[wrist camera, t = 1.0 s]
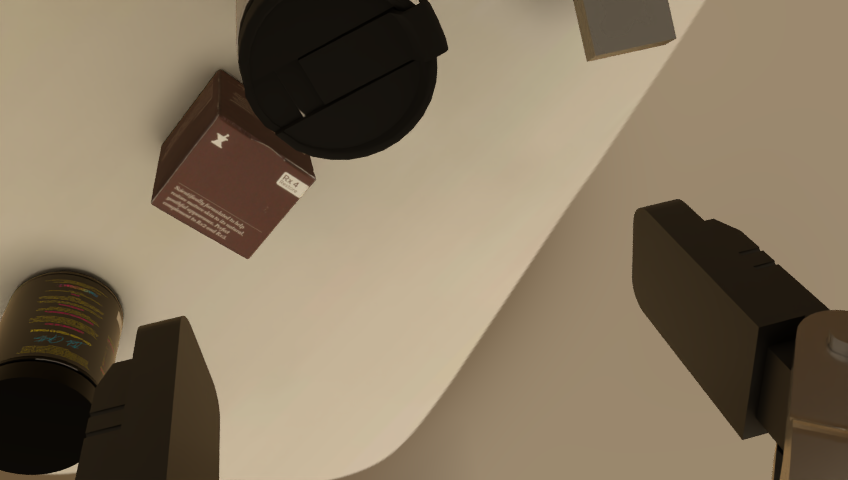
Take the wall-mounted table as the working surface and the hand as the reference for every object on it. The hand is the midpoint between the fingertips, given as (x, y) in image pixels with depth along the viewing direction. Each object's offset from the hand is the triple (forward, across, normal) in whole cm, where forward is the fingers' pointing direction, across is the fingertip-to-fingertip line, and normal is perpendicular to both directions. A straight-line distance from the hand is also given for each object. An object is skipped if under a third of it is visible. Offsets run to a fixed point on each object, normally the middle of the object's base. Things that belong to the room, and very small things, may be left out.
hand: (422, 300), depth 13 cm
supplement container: (+32, +19, +18) cm, 41 cm away
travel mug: (+32, 0, 0) cm, 32 cm away
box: (+32, +6, +9) cm, 34 cm away
